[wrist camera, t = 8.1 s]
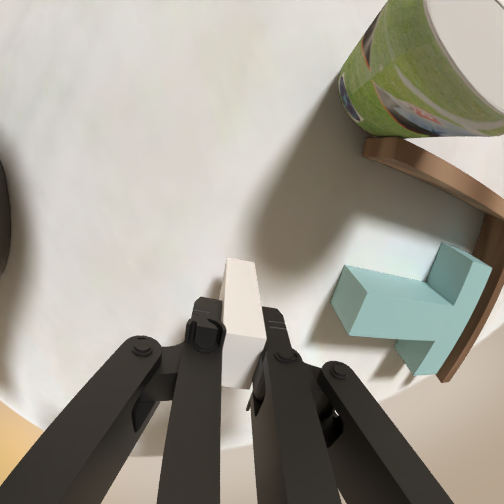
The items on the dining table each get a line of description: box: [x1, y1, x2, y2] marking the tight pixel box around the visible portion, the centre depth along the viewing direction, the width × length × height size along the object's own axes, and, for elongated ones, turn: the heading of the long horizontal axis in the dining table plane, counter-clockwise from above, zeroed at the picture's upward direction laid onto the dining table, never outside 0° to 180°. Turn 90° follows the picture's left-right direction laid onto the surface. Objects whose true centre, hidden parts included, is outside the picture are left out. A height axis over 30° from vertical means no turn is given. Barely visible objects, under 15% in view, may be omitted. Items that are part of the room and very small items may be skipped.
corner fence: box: [362, 137, 504, 383], centre depth 17 cm, size 15×16×4 cm
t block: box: [330, 243, 492, 376], centre depth 17 cm, size 11×10×4 cm
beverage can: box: [338, 0, 504, 139], centre depth 9 cm, size 6×7×12 cm
